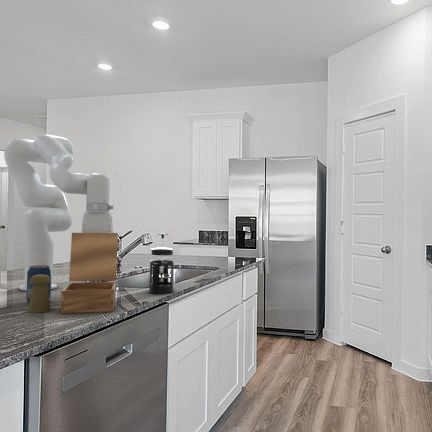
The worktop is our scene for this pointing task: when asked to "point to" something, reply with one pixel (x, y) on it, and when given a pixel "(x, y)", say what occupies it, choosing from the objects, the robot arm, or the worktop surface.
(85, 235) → the lid
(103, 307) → the chest
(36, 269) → the soda can
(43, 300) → the cork
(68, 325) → the worktop surface
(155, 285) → the french press
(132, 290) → the worktop surface
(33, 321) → the worktop surface
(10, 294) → the worktop surface
